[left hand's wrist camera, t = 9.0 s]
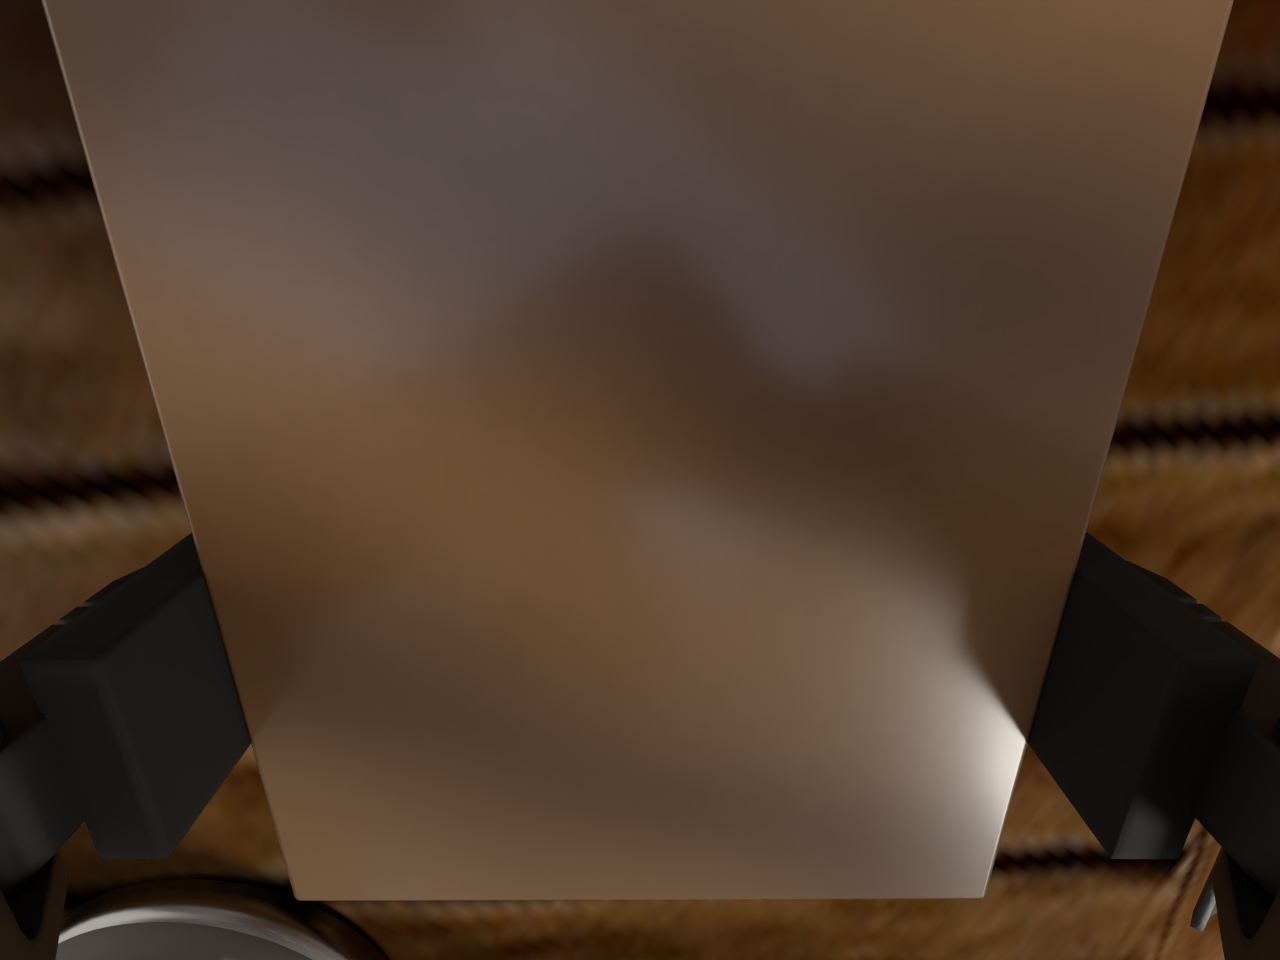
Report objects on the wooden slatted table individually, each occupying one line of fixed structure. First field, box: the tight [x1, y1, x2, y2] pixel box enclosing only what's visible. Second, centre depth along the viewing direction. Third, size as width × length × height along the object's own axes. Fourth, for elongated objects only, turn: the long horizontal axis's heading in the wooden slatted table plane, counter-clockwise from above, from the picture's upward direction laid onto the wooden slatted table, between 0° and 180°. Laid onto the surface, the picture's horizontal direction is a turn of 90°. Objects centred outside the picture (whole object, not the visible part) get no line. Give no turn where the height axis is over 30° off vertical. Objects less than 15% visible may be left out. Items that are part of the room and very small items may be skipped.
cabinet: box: [41, 0, 1234, 901], centre depth 12 cm, size 21×11×12 cm, turn 0°
